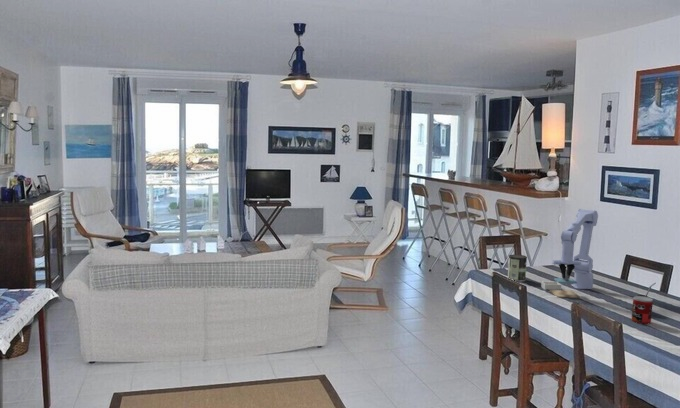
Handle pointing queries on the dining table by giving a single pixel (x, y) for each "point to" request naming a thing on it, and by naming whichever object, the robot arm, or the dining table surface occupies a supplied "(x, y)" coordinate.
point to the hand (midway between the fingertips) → (565, 278)
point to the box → (551, 285)
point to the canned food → (642, 309)
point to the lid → (565, 280)
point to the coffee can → (517, 267)
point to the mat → (564, 293)
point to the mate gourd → (647, 292)
